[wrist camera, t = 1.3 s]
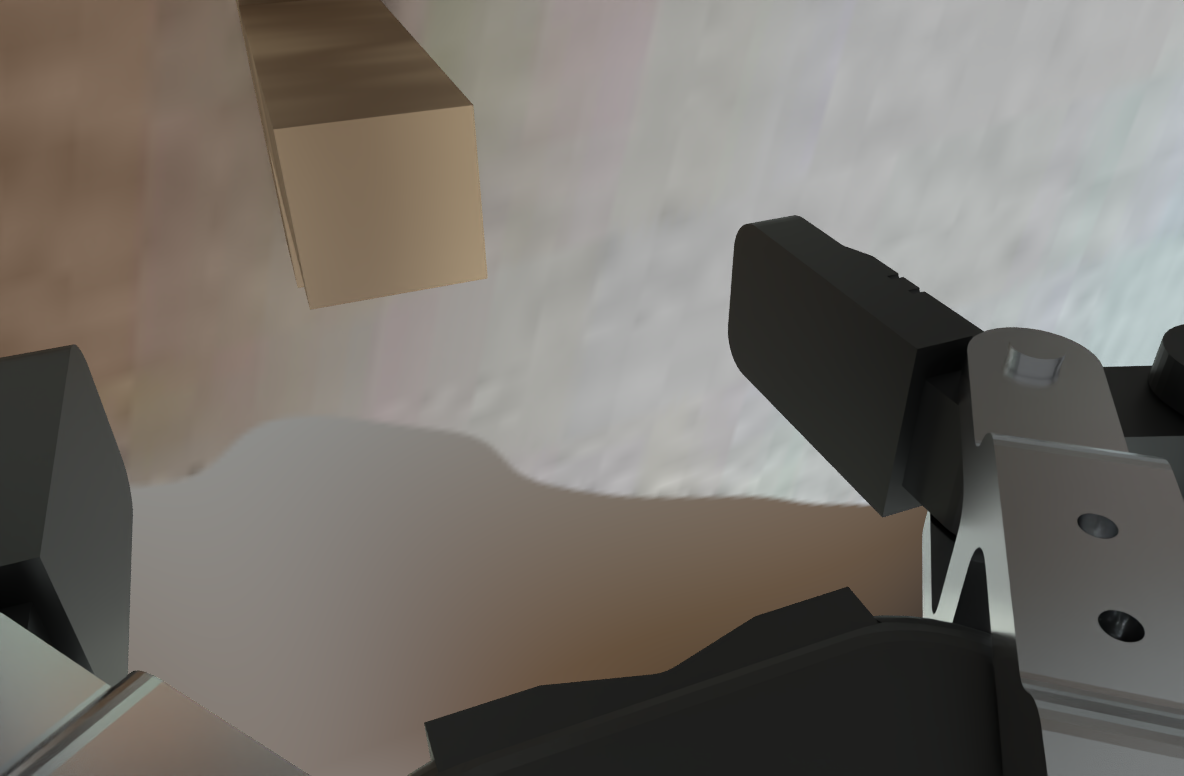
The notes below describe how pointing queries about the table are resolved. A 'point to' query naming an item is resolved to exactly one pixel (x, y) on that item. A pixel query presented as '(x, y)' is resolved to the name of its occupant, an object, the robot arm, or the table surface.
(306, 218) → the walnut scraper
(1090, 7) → the table surface
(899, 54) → the table surface
